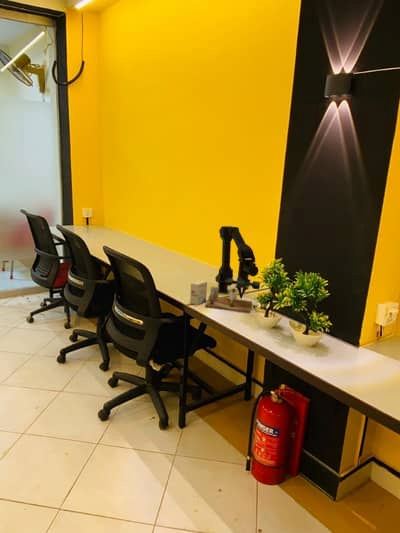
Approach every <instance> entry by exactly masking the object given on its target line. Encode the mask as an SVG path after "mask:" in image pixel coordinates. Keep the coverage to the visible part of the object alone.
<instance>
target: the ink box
mask: <svg viewBox="0 0 400 533" xmlns="http://www.w3.org/2000/svg"><path fill="white" fill-rule="evenodd" d="M207 291H208V281H205V280H203V279H201V280H197V281H194V282H193V281H192V282H191V283H190V296H189V297H190V298H189V304H192V305H194V306H199V305H201V304H205V303H207V293H208V292H207Z"/></svg>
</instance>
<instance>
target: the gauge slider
mask: <svg viewBox="0 0 400 533" xmlns="http://www.w3.org/2000/svg"><path fill="white" fill-rule="evenodd" d="M228 295H229V297H228V298H229V300H231V306H232V300H235V301H236V300H237V299H238V295H239V291H238V289H237V288H232V289H230V291H229V294H228Z"/></svg>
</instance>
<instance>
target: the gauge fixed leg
mask: <svg viewBox="0 0 400 533" xmlns="http://www.w3.org/2000/svg"><path fill="white" fill-rule="evenodd" d="M209 296H210V298H211V303H213V298H218V297H219V288H218V287H216V286H211V287H210V293H209Z"/></svg>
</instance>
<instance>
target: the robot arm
mask: <svg viewBox="0 0 400 533" xmlns="http://www.w3.org/2000/svg"><path fill="white" fill-rule="evenodd" d="M218 231H219V232H218V233H219V237H220V239H221V241H222V243H221V248H222V249H221V250H222V251H221V252H222V253H221V266H220V267H219V269H218V273H217V274H216V276H215V277H214V278H215V282H216V283H217V286H218V287H217V288H219V293H220V294H228V293H229V286H230V287H231V286H232V285H235V286H234V287H235V288H234V289H236V290H238V295H239V298H240V300H243V299H242V298H243V297H244V295H245V293H246V291H247V290H249V288H250V287H251V288H252V289H254V290H260V288H261V283H260V281H257V280H256V281H255V280H253V281H252V282H251V279H249V276H250V277H256V276H257V275H258V274H259V268H258V266H256V257H255V253H254V250H253V249H252V248H251V246H250V245H248V244H247V243H246V241H245V240H244V238H243V235H242V234H241V232H240V229H239V227H238V226H232V225H226V226H225V225H222V226H220V228H219V230H218ZM232 240H233V242H234V243H235V245H236V247H237V250H236V253H237V257H238V259H237V261H238V272H237V273H238V274H237V278H236V280H234V278H233V277H234V269H233V268H232V267H231V250H232V248H231V247H232Z"/></svg>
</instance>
